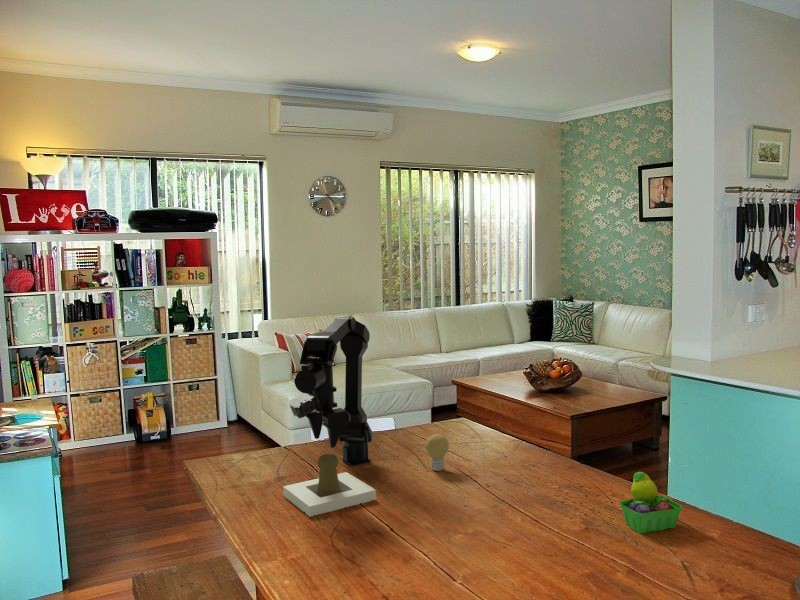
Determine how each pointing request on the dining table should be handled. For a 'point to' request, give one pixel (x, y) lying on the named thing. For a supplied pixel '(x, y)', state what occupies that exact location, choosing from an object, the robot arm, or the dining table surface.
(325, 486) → the olive green peg
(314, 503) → the socket board
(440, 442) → the light bulb
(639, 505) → the fruit basket
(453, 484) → the dining table surface
